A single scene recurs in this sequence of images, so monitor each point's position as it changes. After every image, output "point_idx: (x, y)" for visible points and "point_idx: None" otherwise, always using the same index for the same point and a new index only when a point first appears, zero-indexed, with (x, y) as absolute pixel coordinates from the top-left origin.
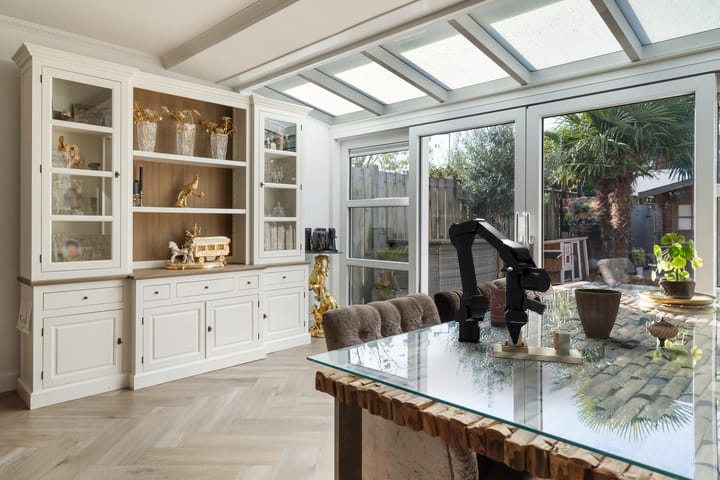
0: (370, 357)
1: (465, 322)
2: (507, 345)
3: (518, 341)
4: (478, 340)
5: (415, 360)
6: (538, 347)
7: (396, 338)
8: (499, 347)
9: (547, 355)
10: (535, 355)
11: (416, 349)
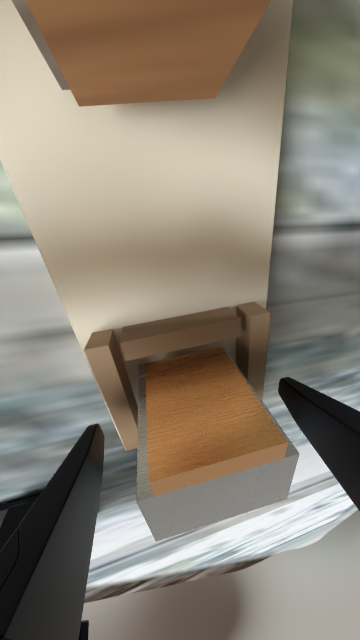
0: (304, 522)
1: (81, 631)
2: (137, 407)
3: (248, 383)
4: (37, 495)
5: (315, 486)
6: (63, 259)
7: (151, 568)
8: None
9: (272, 186)
10: (266, 262)
11: (231, 518)
